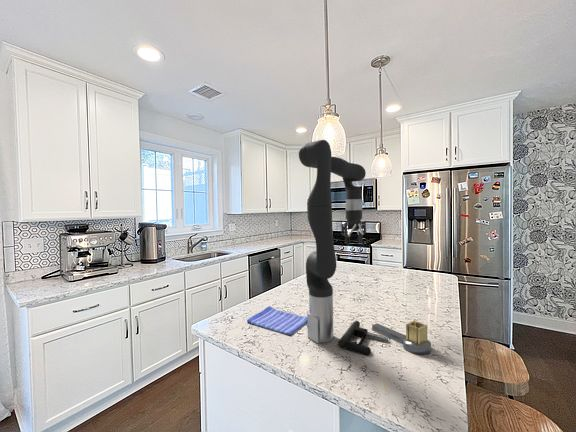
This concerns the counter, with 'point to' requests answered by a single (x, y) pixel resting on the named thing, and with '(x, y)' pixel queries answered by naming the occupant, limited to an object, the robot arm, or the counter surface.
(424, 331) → the brass cube frame
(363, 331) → the door handle
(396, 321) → the counter surface
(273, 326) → the dish towel
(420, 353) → the ratchet
